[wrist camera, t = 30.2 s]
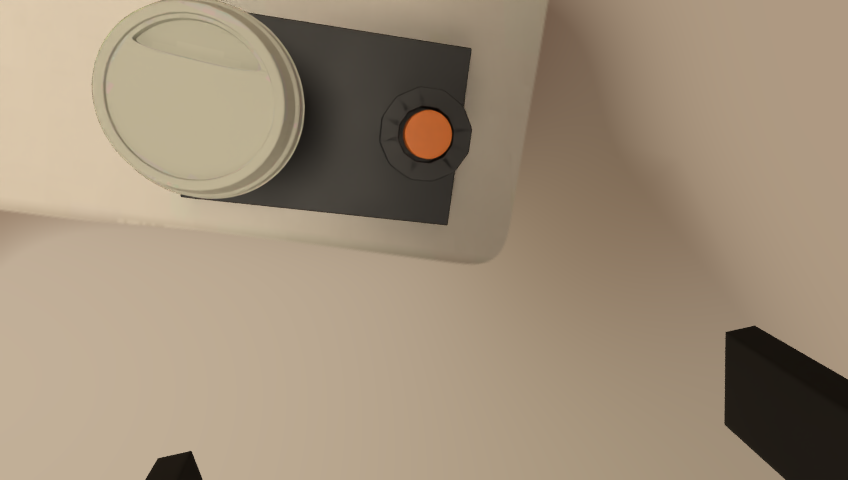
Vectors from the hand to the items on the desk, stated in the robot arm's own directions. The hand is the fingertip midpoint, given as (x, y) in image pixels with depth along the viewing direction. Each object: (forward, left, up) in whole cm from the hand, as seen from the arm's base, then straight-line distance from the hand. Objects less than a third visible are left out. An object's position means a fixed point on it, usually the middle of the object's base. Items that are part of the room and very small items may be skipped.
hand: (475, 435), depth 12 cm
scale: (+4, -9, -24) cm, 26 cm away
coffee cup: (+8, -10, -23) cm, 26 cm away
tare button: (-3, -7, -22) cm, 23 cm away
